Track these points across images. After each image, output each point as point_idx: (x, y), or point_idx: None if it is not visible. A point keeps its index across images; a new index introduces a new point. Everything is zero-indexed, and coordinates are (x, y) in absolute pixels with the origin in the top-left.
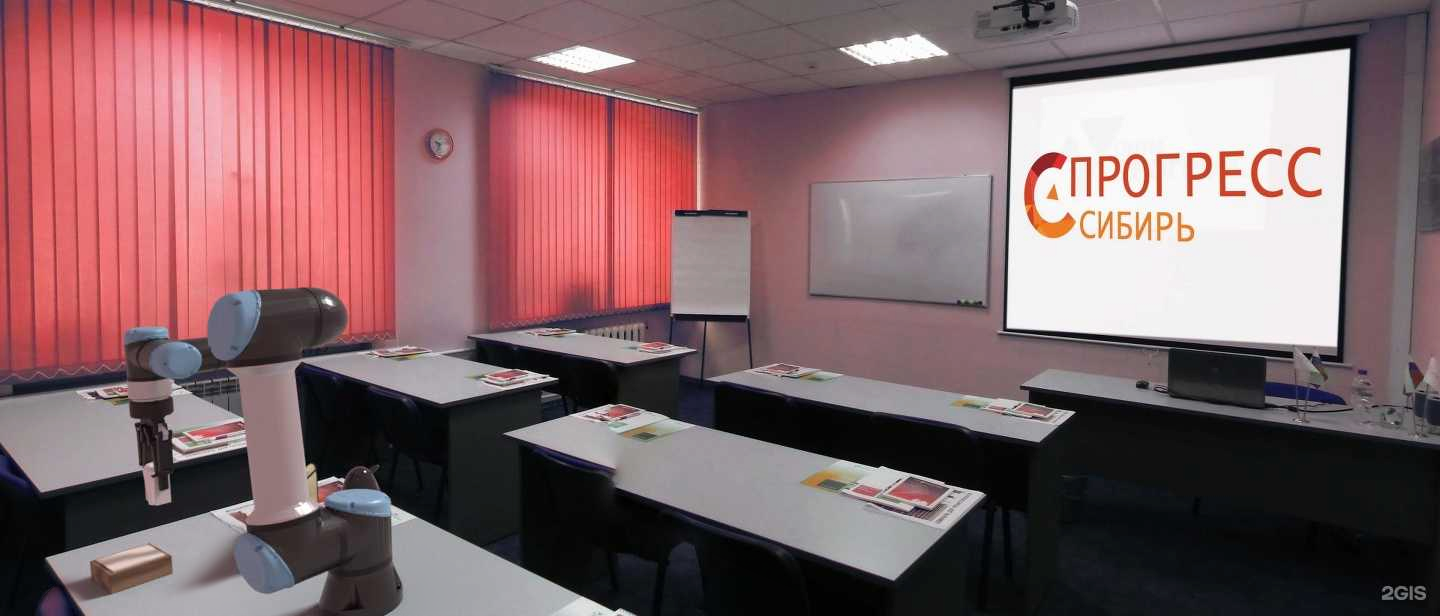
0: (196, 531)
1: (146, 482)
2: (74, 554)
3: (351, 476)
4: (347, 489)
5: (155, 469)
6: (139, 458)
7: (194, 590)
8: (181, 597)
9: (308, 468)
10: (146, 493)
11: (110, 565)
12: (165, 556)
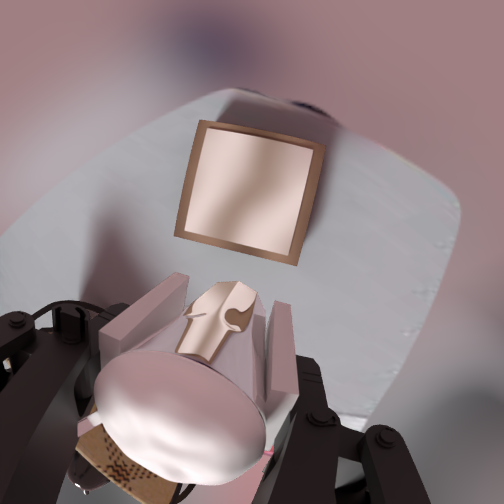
0: (334, 373)
1: (197, 316)
2: (453, 222)
3: (72, 470)
4: (77, 454)
5: (51, 357)
6: (400, 471)
7: (97, 203)
8: (95, 179)
9: (139, 501)
10: (279, 315)
11: (246, 142)
12: (182, 228)
